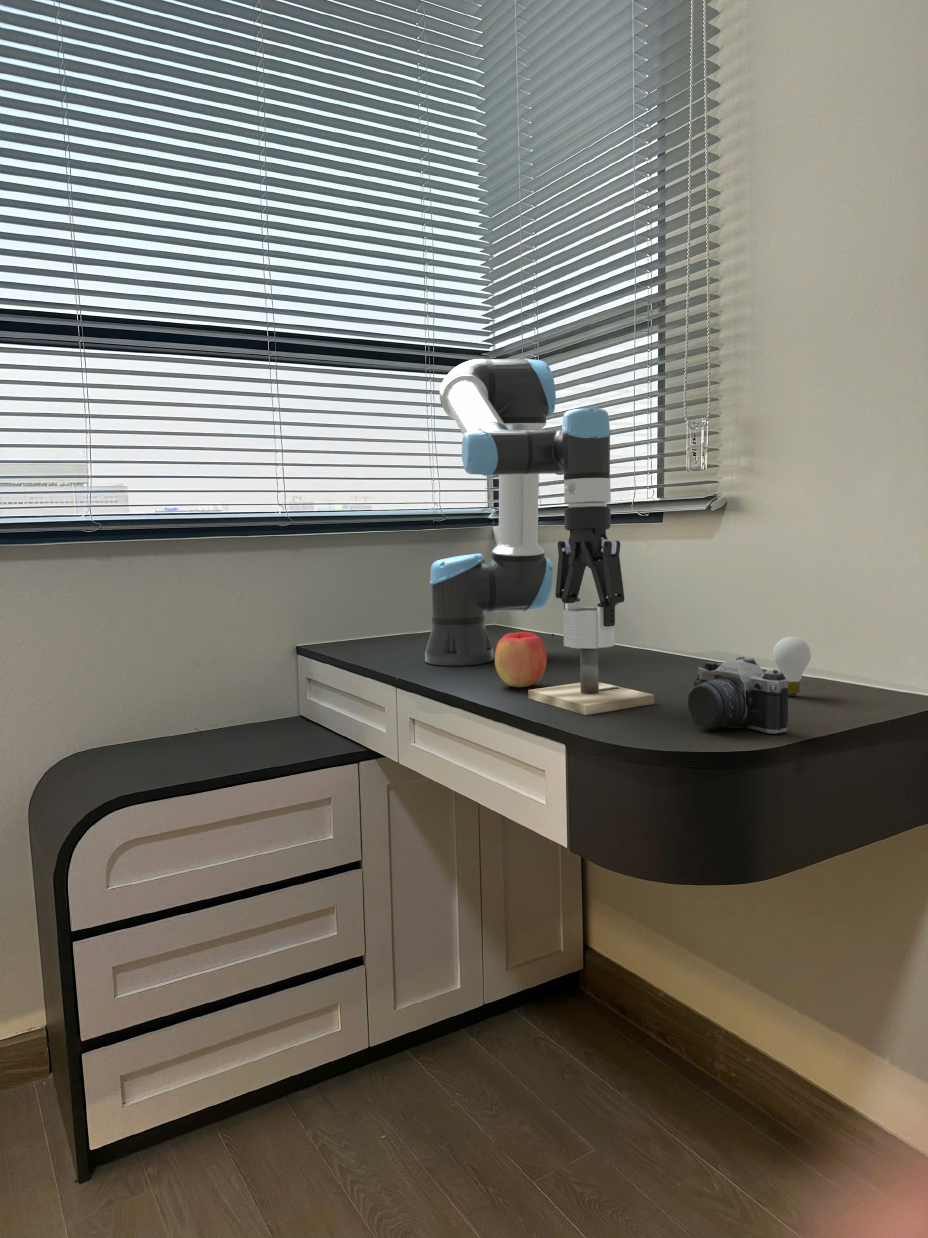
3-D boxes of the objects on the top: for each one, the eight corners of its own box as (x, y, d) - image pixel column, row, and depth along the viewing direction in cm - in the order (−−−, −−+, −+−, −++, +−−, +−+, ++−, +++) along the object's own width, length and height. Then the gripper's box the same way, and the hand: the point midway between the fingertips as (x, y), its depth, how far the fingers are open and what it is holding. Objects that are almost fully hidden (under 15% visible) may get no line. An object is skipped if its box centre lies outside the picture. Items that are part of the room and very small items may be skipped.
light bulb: (764, 695, 145) (765, 636, 144) (791, 691, 148) (792, 633, 147) (790, 701, 140) (791, 640, 139) (818, 697, 142) (819, 637, 141)
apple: (492, 683, 163) (490, 630, 162) (541, 681, 164) (540, 629, 163) (498, 692, 154) (497, 637, 153) (551, 690, 155) (550, 635, 154)
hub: (555, 644, 145) (554, 608, 144) (593, 640, 149) (592, 604, 148) (584, 649, 138) (584, 611, 137) (623, 645, 142) (623, 607, 141)
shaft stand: (528, 698, 148) (527, 635, 147) (593, 689, 155) (592, 628, 154) (585, 715, 134) (584, 645, 133) (654, 703, 141) (653, 637, 140)
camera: (661, 722, 128) (661, 656, 127) (712, 713, 133) (712, 649, 132) (743, 744, 115) (743, 670, 114) (796, 733, 120) (797, 662, 119)
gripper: (532, 508, 148) (535, 639, 151) (609, 503, 130) (611, 652, 133) (567, 507, 152) (569, 635, 154) (647, 503, 134) (648, 648, 136)
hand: (589, 643), depth 143 cm, fingers closed on hub, 8 cm apart
